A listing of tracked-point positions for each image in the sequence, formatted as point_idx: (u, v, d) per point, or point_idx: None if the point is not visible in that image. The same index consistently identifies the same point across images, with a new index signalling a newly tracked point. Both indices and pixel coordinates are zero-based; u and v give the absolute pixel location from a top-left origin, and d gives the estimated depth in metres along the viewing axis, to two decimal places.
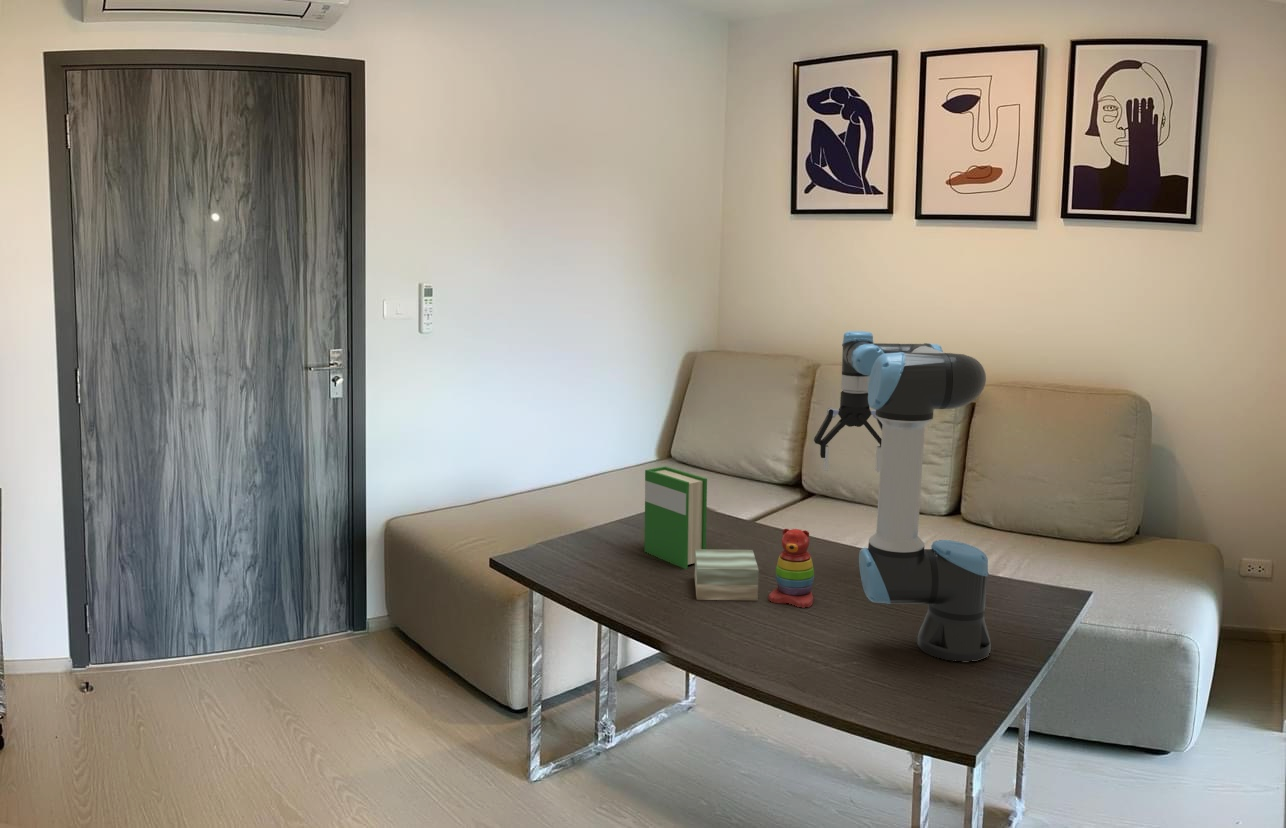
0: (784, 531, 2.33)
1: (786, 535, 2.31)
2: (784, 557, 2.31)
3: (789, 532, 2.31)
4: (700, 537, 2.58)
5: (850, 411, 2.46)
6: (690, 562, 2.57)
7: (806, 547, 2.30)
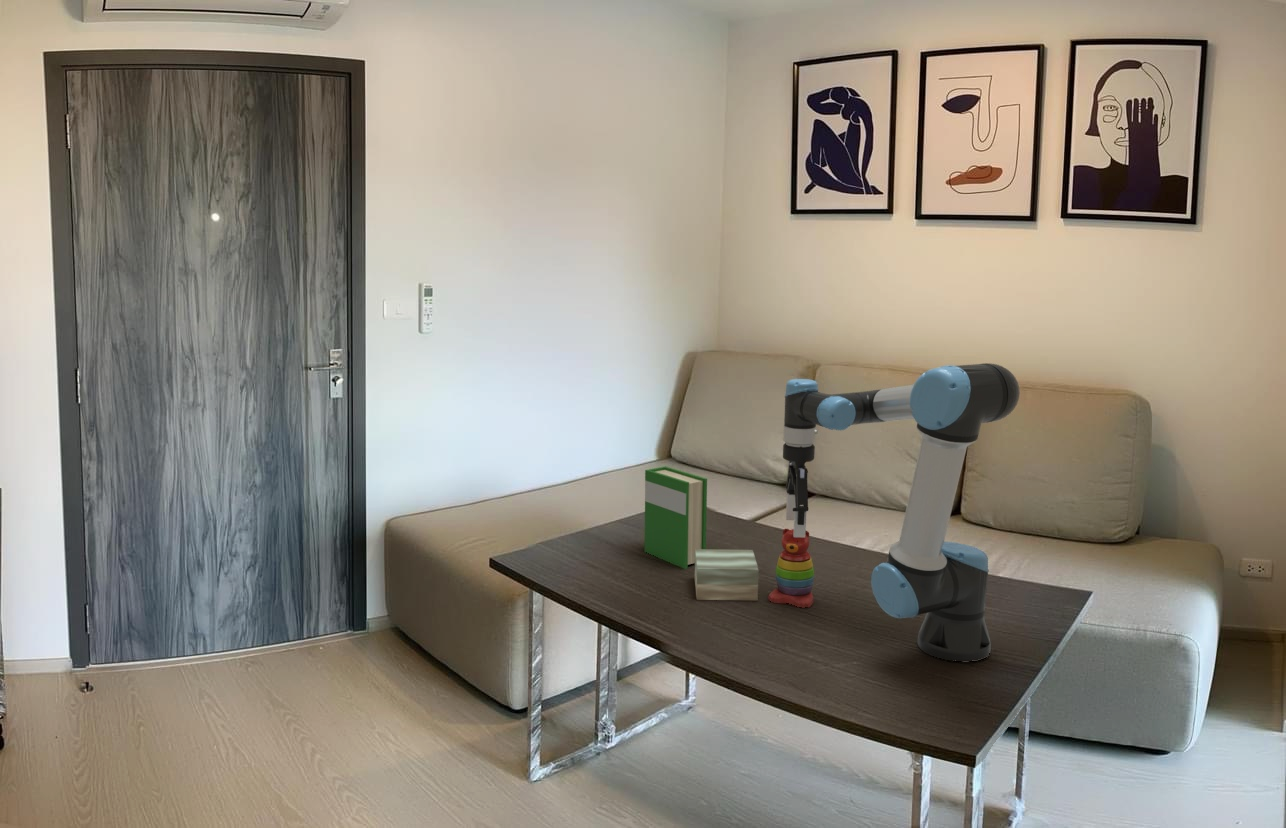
0: (784, 531, 2.33)
1: (786, 535, 2.31)
2: (784, 557, 2.31)
3: (789, 532, 2.31)
4: (700, 537, 2.58)
5: (792, 463, 2.30)
6: (690, 562, 2.57)
7: (806, 547, 2.30)
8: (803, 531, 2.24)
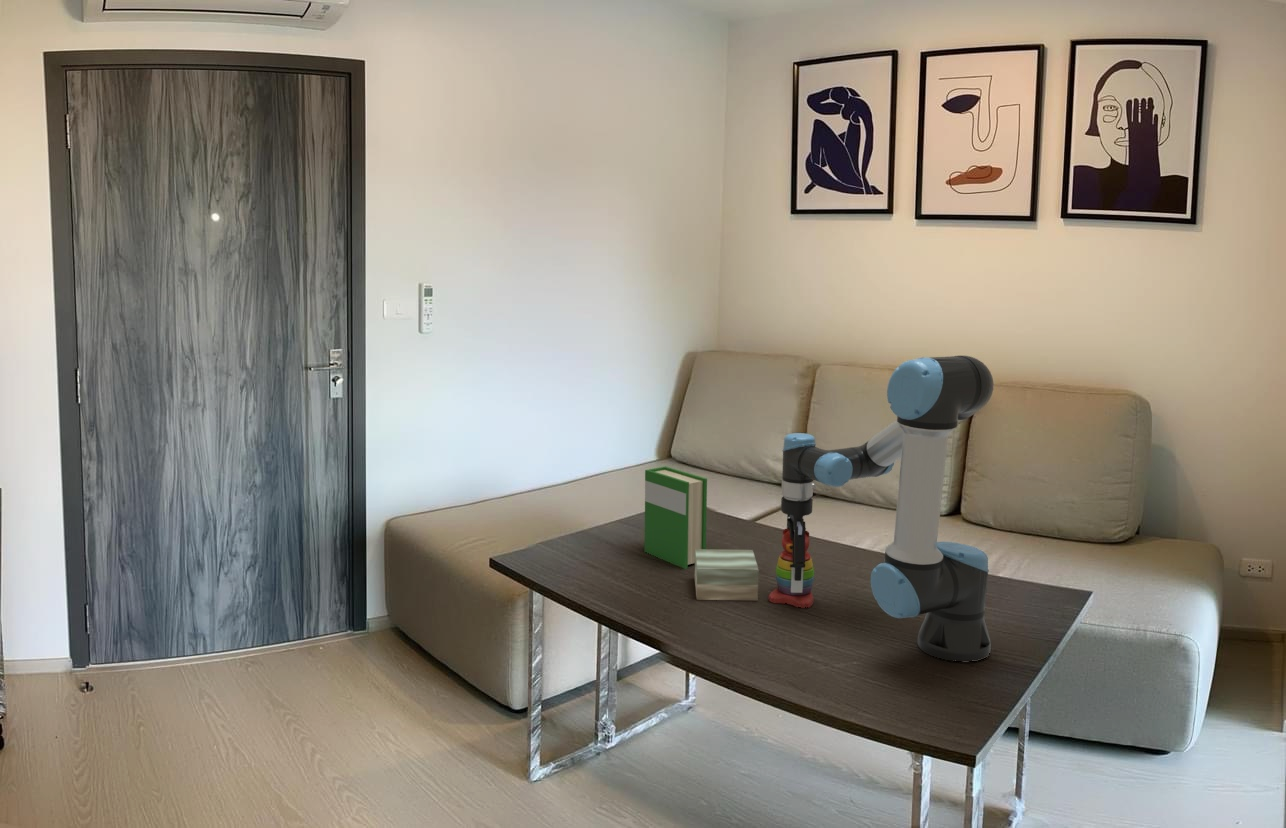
0: (784, 531, 2.33)
1: (786, 535, 2.31)
2: (784, 557, 2.31)
3: (789, 532, 2.31)
4: (700, 537, 2.58)
5: (791, 514, 2.32)
6: (690, 562, 2.57)
7: (806, 547, 2.30)
8: (800, 586, 2.28)
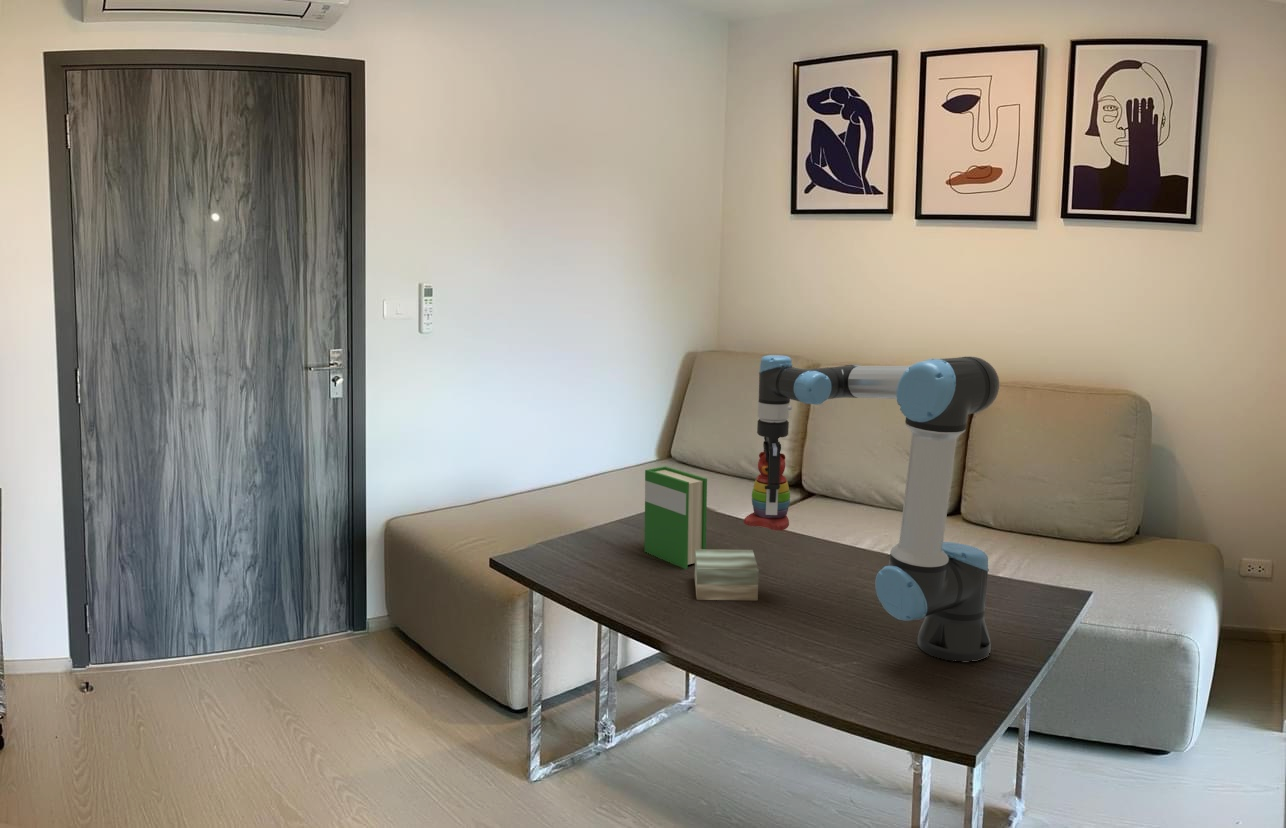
0: (760, 454, 2.32)
1: (762, 458, 2.30)
2: (760, 480, 2.30)
3: None
4: (700, 537, 2.58)
5: (767, 437, 2.31)
6: (690, 562, 2.57)
7: (782, 470, 2.29)
8: (775, 509, 2.28)
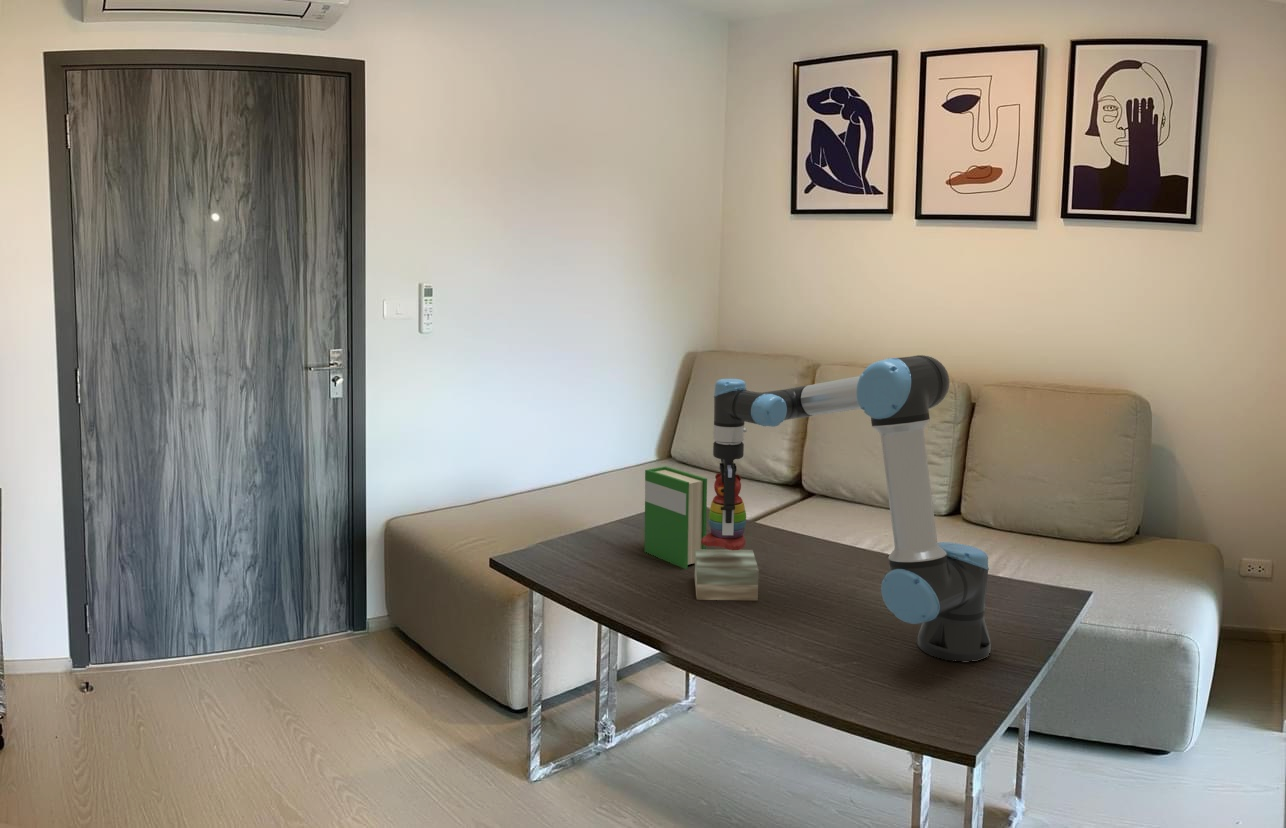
0: (717, 476, 2.37)
1: (718, 479, 2.34)
2: (716, 501, 2.34)
3: None
4: (700, 537, 2.58)
5: (723, 459, 2.36)
6: (690, 562, 2.57)
7: (737, 491, 2.34)
8: (731, 529, 2.32)
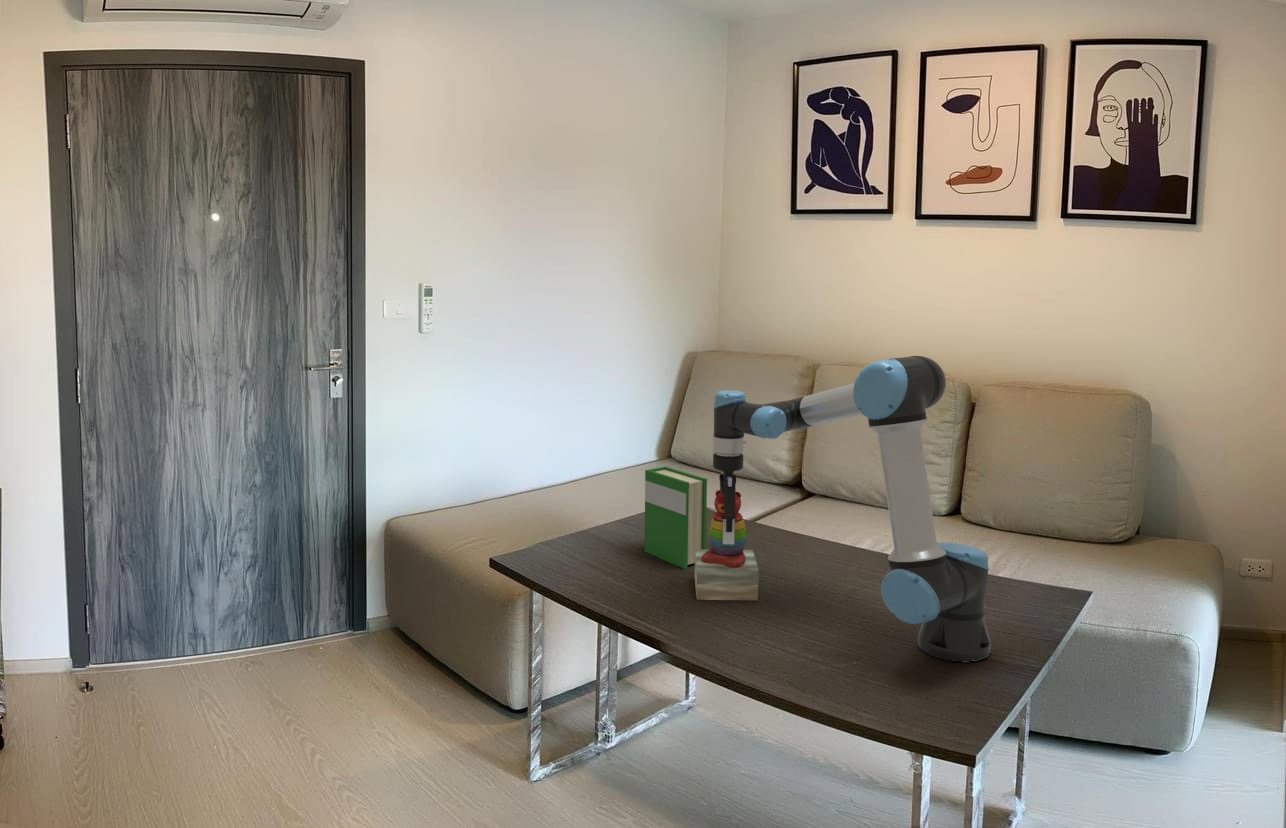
0: (717, 493, 2.37)
1: (718, 496, 2.35)
2: (716, 518, 2.35)
3: (721, 493, 2.35)
4: (700, 537, 2.58)
5: None
6: (690, 562, 2.57)
7: (738, 508, 2.34)
8: (732, 538, 2.31)
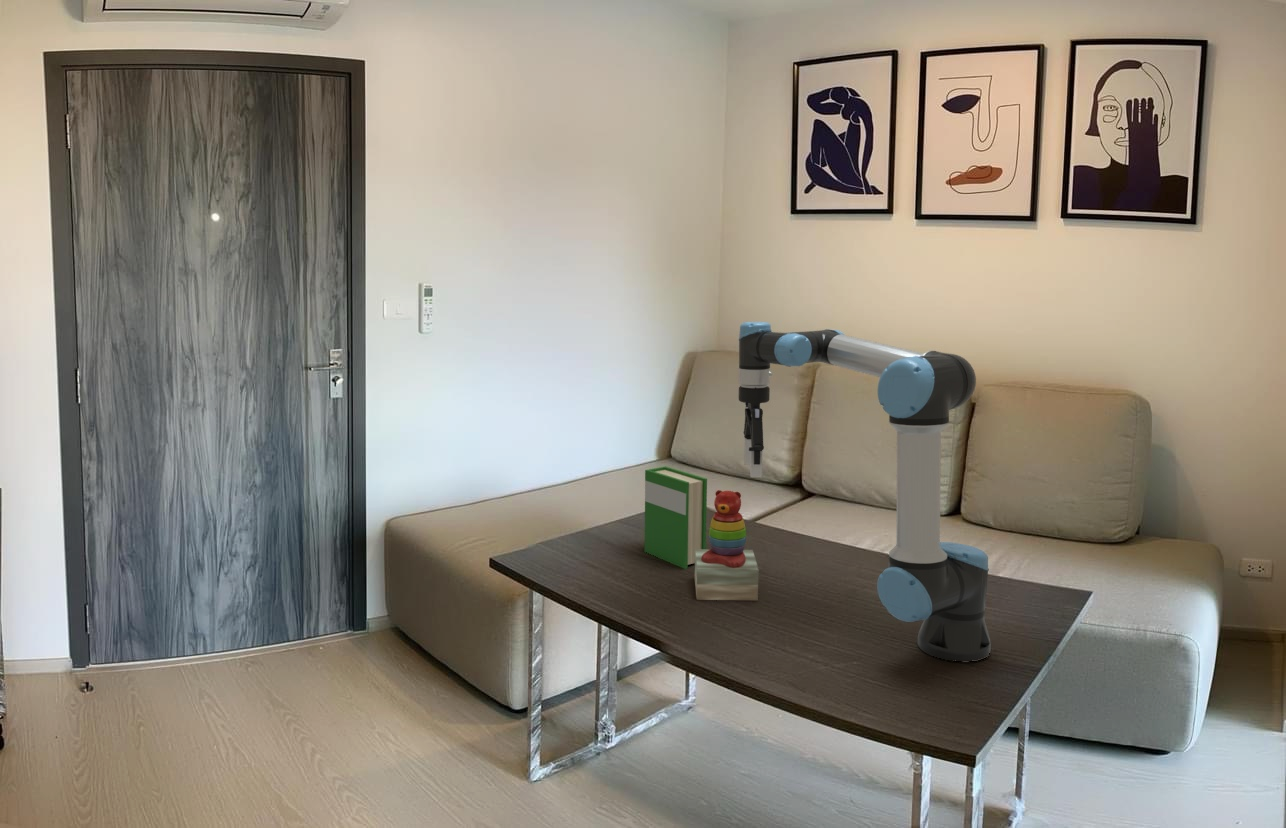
0: (717, 493, 2.37)
1: (718, 496, 2.35)
2: (716, 518, 2.35)
3: (721, 493, 2.35)
4: (700, 537, 2.58)
5: (748, 406, 2.32)
6: (690, 562, 2.57)
7: (738, 508, 2.34)
8: (760, 471, 2.27)
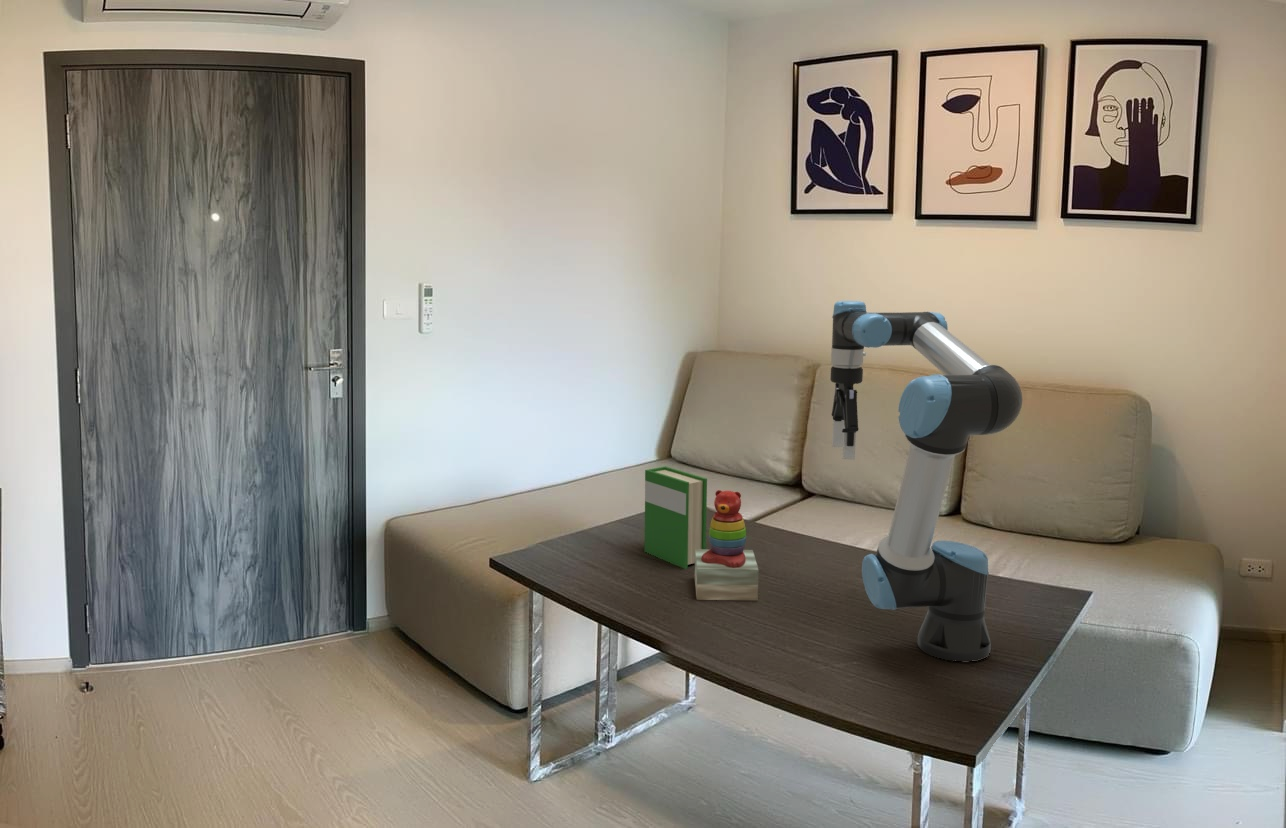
0: (717, 493, 2.37)
1: (718, 496, 2.35)
2: (716, 518, 2.35)
3: (721, 493, 2.35)
4: (700, 537, 2.58)
5: (840, 386, 2.28)
6: (690, 562, 2.57)
7: (737, 508, 2.34)
8: (852, 453, 2.22)
